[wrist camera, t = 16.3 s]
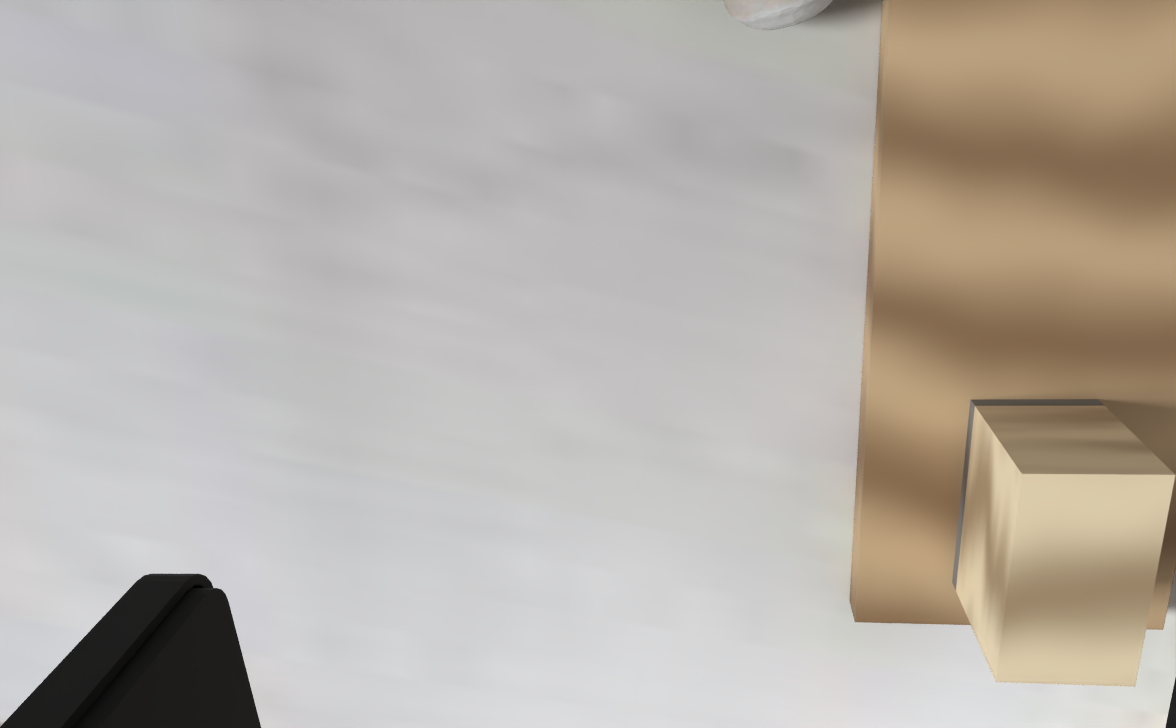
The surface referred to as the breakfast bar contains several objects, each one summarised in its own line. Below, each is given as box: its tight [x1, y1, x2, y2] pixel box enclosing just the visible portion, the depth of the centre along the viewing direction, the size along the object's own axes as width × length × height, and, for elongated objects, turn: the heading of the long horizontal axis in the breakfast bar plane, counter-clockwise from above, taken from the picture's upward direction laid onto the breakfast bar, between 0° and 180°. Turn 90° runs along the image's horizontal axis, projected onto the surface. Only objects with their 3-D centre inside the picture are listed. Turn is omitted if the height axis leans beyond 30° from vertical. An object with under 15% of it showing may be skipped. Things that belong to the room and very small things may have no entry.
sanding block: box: [952, 399, 1175, 687], centre depth 33 cm, size 8×4×6 cm, turn 3°
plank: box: [850, 0, 1176, 630], centre depth 34 cm, size 26×12×2 cm, turn 3°
